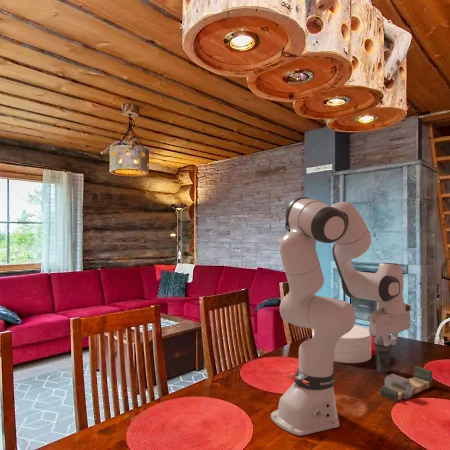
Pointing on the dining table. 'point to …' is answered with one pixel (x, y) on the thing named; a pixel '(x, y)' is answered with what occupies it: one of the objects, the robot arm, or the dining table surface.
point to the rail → (419, 383)
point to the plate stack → (353, 346)
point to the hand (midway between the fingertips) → (389, 345)
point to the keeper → (399, 385)
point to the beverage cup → (382, 354)
